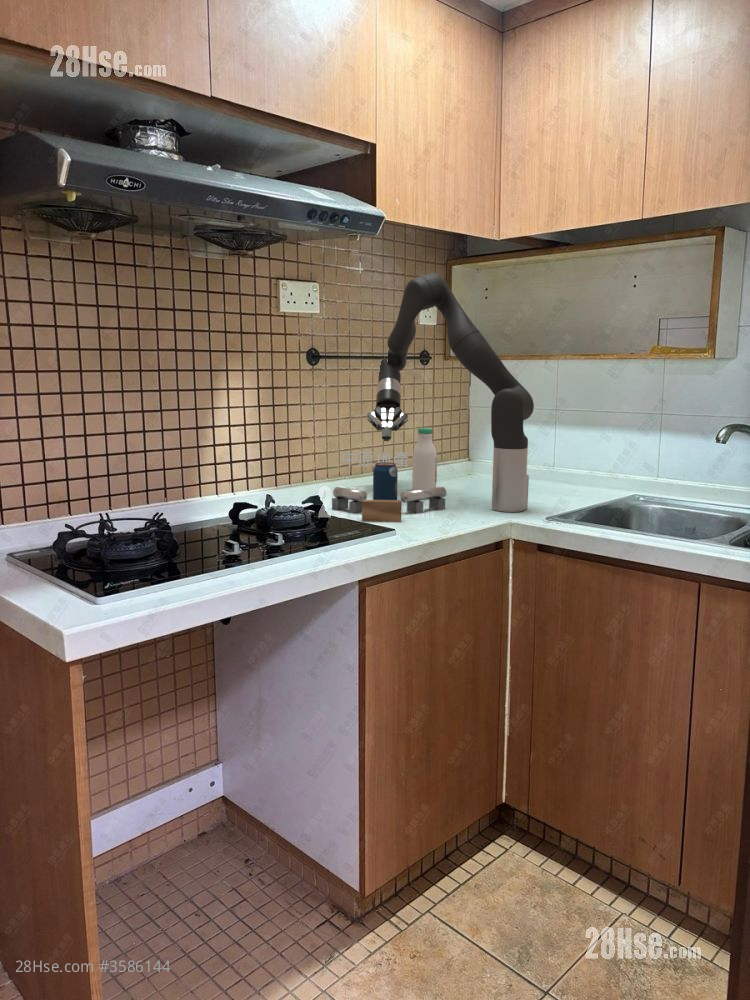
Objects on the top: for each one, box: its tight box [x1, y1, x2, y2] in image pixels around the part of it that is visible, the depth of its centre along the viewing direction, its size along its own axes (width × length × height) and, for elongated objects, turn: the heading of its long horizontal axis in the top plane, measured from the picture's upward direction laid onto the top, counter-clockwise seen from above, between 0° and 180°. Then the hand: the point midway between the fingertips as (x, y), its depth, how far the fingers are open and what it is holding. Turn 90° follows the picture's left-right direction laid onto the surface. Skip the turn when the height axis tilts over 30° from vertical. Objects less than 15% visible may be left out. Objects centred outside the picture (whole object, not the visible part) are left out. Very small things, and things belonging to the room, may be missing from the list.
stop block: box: [361, 499, 403, 523], centre depth 183 cm, size 3×10×5 cm, turn 87°
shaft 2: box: [399, 486, 447, 514], centre depth 196 cm, size 14×4×6 cm, turn 127°
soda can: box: [372, 461, 399, 500], centre depth 203 cm, size 7×7×12 cm
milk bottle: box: [411, 427, 438, 490], centre depth 228 cm, size 8×8×20 cm
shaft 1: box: [331, 486, 368, 514], centre depth 195 cm, size 10×4×6 cm, turn 47°
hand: (386, 439), depth 212 cm, fingers closed
